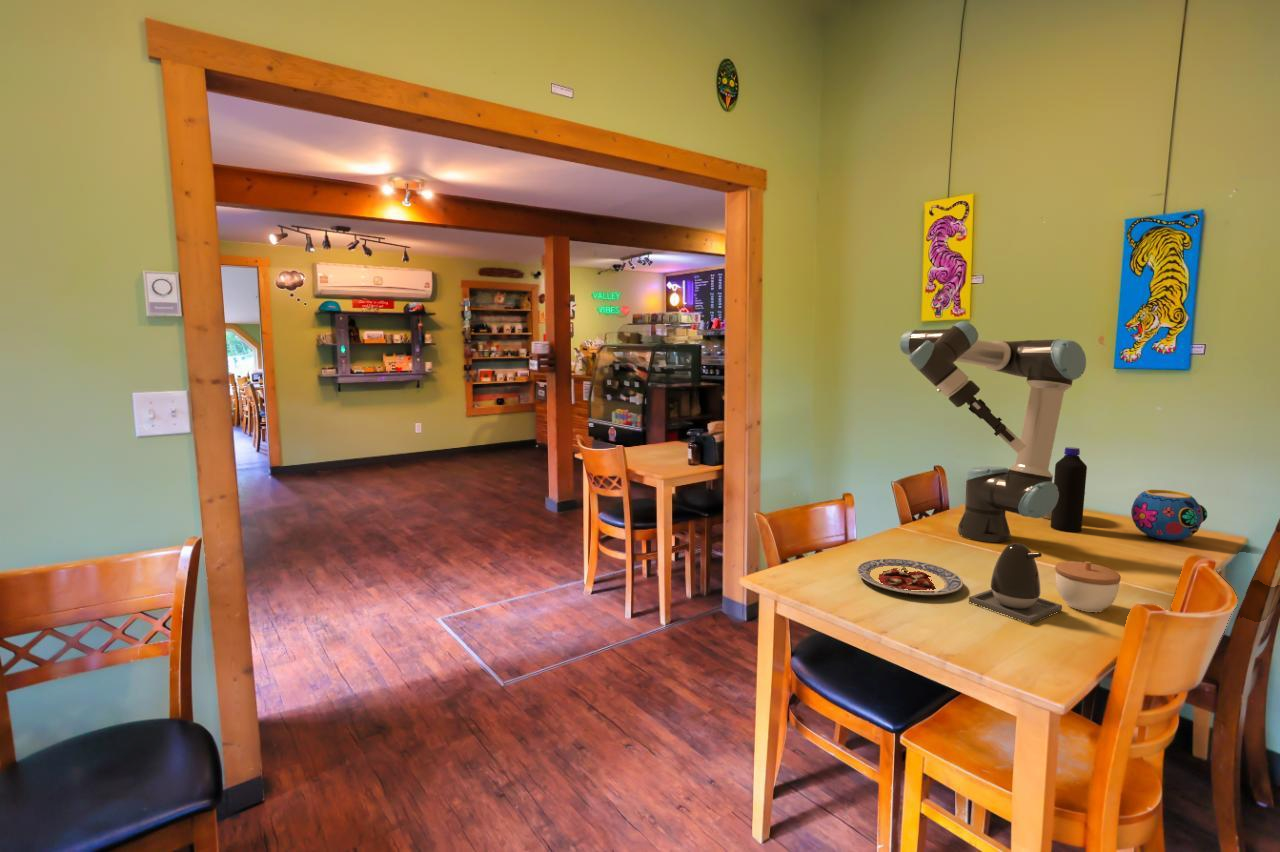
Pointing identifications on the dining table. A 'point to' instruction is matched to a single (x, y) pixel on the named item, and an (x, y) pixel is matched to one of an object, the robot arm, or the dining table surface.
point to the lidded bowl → (1086, 585)
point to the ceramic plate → (910, 577)
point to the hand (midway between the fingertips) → (1018, 445)
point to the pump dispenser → (1016, 577)
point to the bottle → (1069, 492)
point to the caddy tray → (1026, 615)
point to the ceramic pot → (1167, 514)
